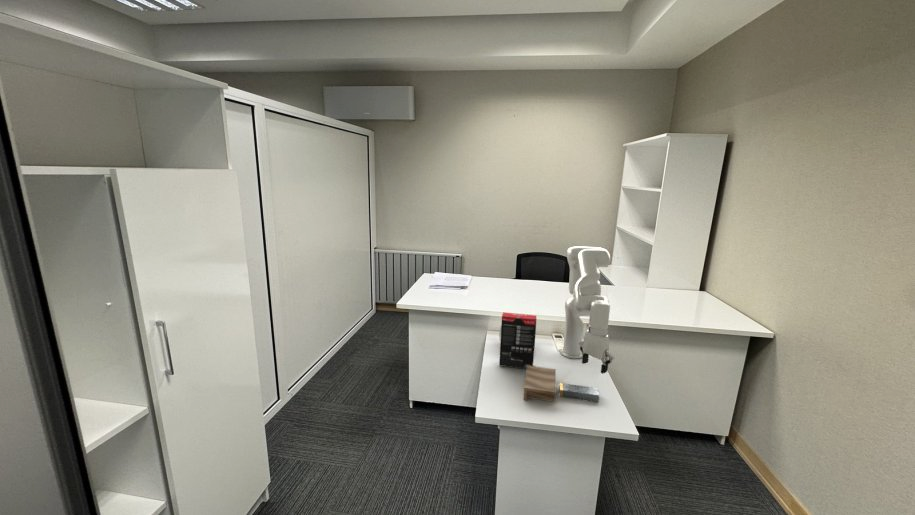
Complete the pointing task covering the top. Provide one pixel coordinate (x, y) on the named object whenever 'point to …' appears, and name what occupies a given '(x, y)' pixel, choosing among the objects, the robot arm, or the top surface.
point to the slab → (578, 392)
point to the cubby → (540, 383)
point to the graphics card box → (517, 340)
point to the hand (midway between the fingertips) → (594, 367)
